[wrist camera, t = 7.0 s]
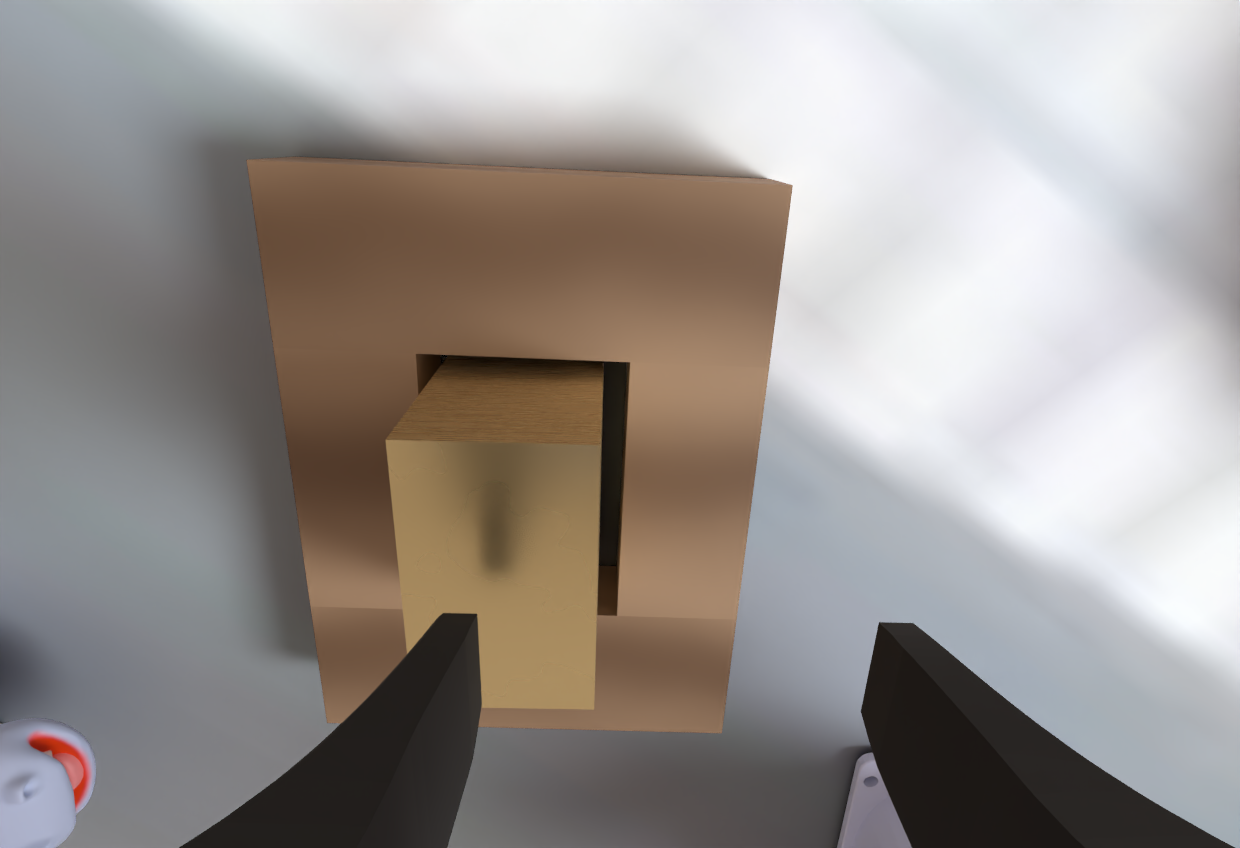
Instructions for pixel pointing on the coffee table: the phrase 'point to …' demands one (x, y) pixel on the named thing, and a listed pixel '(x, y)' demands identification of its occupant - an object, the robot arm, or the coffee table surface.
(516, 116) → the coffee table surface
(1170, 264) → the coffee table surface
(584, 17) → the coffee table surface
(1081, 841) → the robot arm
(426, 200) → the slot board
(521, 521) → the key peg
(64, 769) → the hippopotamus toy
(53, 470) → the coffee table surface
